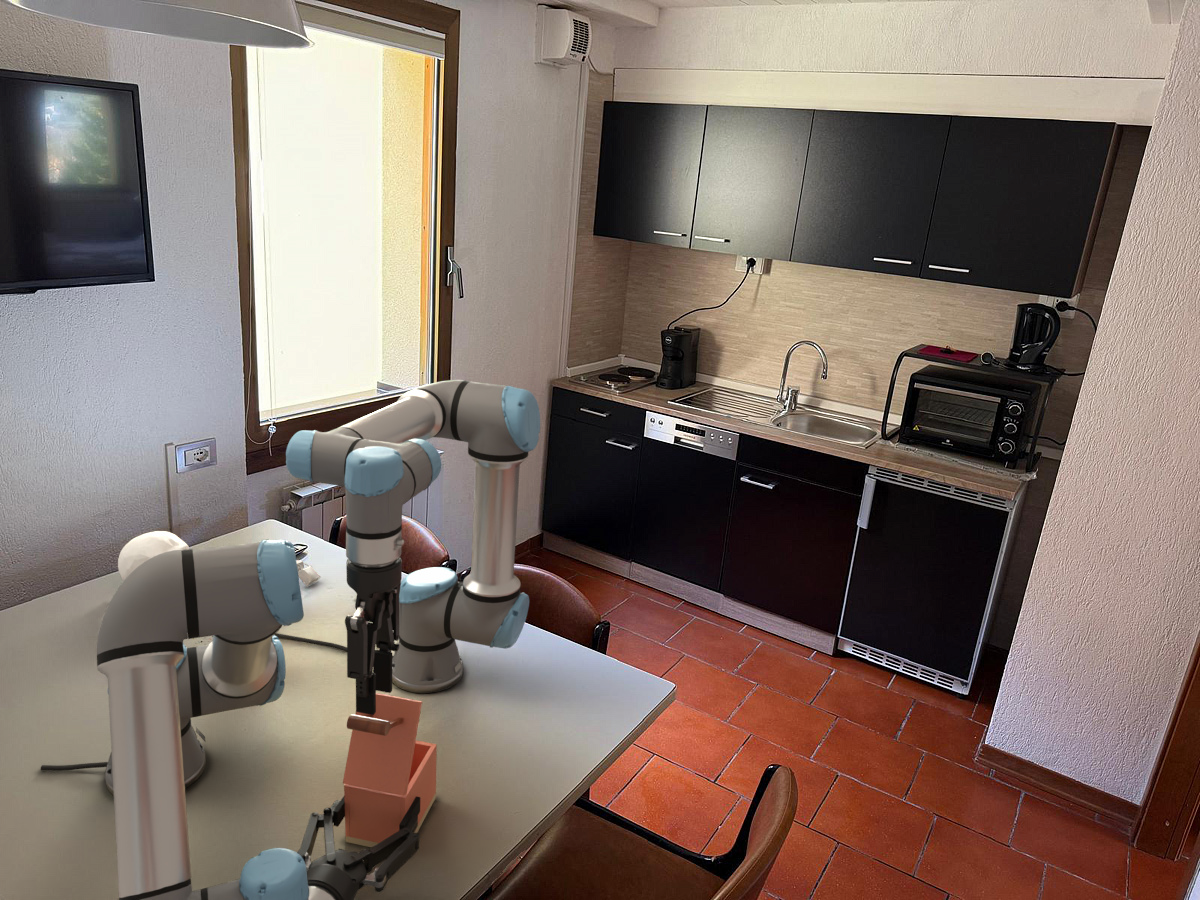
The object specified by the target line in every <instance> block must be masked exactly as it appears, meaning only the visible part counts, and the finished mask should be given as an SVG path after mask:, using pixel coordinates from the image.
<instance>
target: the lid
mask: <svg viewBox="0 0 1200 900" xmlns="http://www.w3.org/2000/svg"><path fill="white" fill-rule="evenodd" d="M422 706H423V701H422V700H418V699H413V698H412V699H411V698H406V697H402V696H401V697H400V696H397V695H396V696H395V695H391V694H383V693H379V692H376V713H375V714H374V715H371V714H365V713H360V712H356V711H355V714H354V713H351V714H349V716H348V718H347V721H346V728H347V730H351V736H350V741H349V745H348V751H347V757H346V763H345V769H344V773H343V780H342V784H344V785H345V784H348V785H353V786H358V787H363V788H368V789H373V790H378V791H383V792H387V793H392V794H397V795H402V796H405V795H406V794H407V788H408V783H409V777H410V771H411V765H412V759H413V753H414V748H415V742H416V740H417V735H418V729H419V723H420V717H421V712H422Z"/></svg>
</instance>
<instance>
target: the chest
mask: <svg viewBox="0 0 1200 900" xmlns="http://www.w3.org/2000/svg"><path fill="white" fill-rule="evenodd" d="M437 746H438V744H437V743H432V742H426V741H421V740H417V739H416V742H415V748H414V753H413V759H412V765H411V771H410V777H409V783H408V788H407V794H406V795H405V796H402V795H397V794H392V793H387V792H383V791H378V790H373V789H368V788H363V787H358V786H353V785H348V784H344V785H343V793H344V795H343V796H344V799H345V817H344V825H345V826H344V828H345V830H344V831H345V836H344V838H345V839H344V840H345V843H349V844H354V845H359V846H363V847H367V848H368V847H369V848H372V847H373V846H375V845H377V844H378V843H380V842H381V841H383V840H385V839H386V838H388V837H390V836H391V835H393V834H394V833H396V832H398V831H399V824H400V823H401V821H402V819H403V818H404V816H405V814H406V813H407V811H408V809H409V808H410V806H411V804H412V803H413V801H414V799H415V797H416V796H417V797H420V813H419V814H418V827H417V828H416V830H415V832H414V833H419V830H420V828H421V827H422V825H423V822H424V820H425V819H426V817H427V815H428V814H429V811H430V809H431V807H432V805H433V804H434V802H435V800H436V798H437V753H438V747H437Z"/></svg>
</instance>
